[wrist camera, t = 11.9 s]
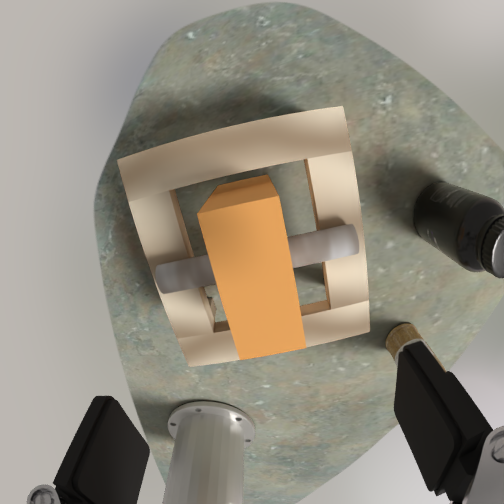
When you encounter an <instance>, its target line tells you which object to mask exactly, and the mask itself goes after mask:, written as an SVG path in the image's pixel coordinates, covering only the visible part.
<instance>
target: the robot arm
mask: <svg viewBox="0 0 504 504" xmlns="http://www.w3.org/2000/svg"><path fill="white" fill-rule="evenodd" d="M394 412H395V415H396V418H397V420H398V422H399V424H400V426H401V428H402V431H403V433H404V435H405V437H406V440H407V442H408V444H409V446H410V449H411V450H412V453H413V455H414V458H415V460H416V462H417V465H418V467H419V469H420V472H421V474H422V476H423V479H424V481H425V484H426V486H427V488H428V490H429V491H434V492H435V494H436V496H439V495H441V494H442V493H445V492H446V494H447V496H448V498H449V500H450V501H451V502H450V504H504V426H502V427H499V428H496V429H495V430H493V429H492V428H491V426H490V425H489V423H488V422H487V420H486V419H485V417H484V416H483V414H482V413H481V411H480V410H479V409H478V407H477V406H476V404H475V403H474V401H473V400H472V399H471V397H470V396H469V395H468V393H467V392H466V390H465V389H464V387H463V386H462V385H461V383H460V382H459V381H458V379H457V378H456V377H455V375H454V374H453V373H452V372H450V371H447V372H445V371H444V370H443V368H442V367H441V366H440V364H439V363H438V361H437V360H436V359H435V357H434V356H433V355H432V353H431V352H430V351H429V350H428V348H427V347H426V346H425V344H424V343H423V342H422V341H417V342H415V343H412V344H409V345H405V346H404V347H403V351H401V352H399V355H398V369H397V381H396V391H395V401H394ZM168 430H169V433H170V434H171V436H172V437H173V438H174V439H175V444H174V448H173V453H172V458H171V463H170V468H169V473H168V478H167V483H166V488H165V493H164V498H163V504H243V494H244V449H245V448H247V447H248V446H250V444H251V443H252V442H253V440H254V438H255V425H254V423H253V421H252V420H251V418H250V417H249V416H248V415H246V414H245V413H244V412H242V411H240V410H239V409H237V408H234V407H232V406H229V405H226V404H222V403H217V402H207V401H201V402H192V403H187V404H184V405H181V406H179V407H178V408H176V409H175V410H174V411H173V412H172V413H171V415H170V416H169V420H168ZM149 453H150V449H149V446H148V444H147V443H146V441H145V440H144V439H143V437H142V436H141V434H140V433H139V432H138V430H137V429H136V427H135V426H134V425H133V423H132V422H131V420H130V419H129V417H128V416H127V415H126V413H125V411H124V410H123V408H122V407H121V405H120V404H119V402H118V401H117V400H115V399H114V398H113V397H112V396H96V397H95V398H94V399H93V401H92V403H91V405H90V406H89V408H88V410H87V412H86V414H85V416H84V418H83V420H82V422H81V424H80V426H79V428H78V430H77V433H76V434H75V436H74V438H73V440H72V442H71V445H70V447H69V449H68V451H67V453H66V455H65V457H64V459H63V461H62V464H61V466H60V468H59V470H58V473H57V475H56V477H55V479H54V482H53V484H54V485H56V488H55V489H54V488H53V487H51V486H49V485H40V486H37V487H35V488H34V489H33V490H32V491H31V492H30V494H29V495H28V499H27V504H137V500H138V496H139V491H140V488H141V484H142V480H143V476H144V473H145V469H146V465H147V461H148V457H149Z"/></svg>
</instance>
